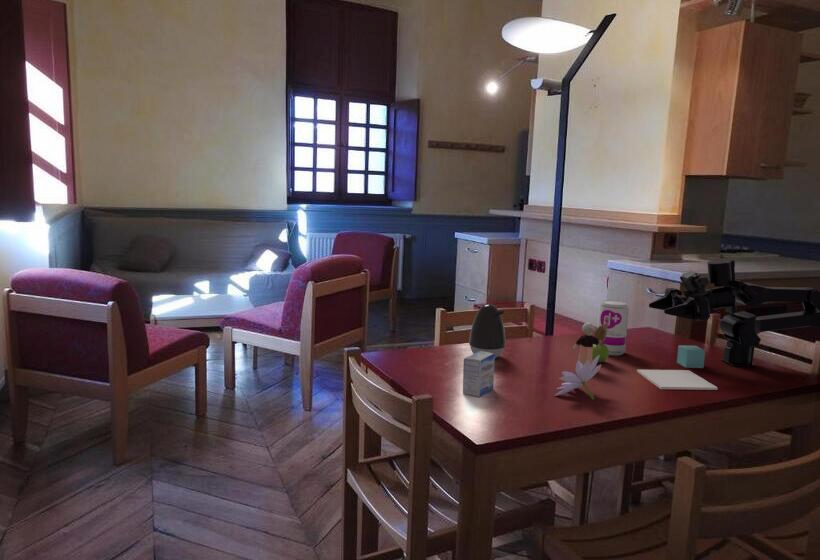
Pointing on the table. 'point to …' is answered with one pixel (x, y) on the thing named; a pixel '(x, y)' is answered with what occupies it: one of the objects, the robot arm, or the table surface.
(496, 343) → the penguin figurine
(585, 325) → the grandmother figurine
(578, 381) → the water lily
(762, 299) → the robot arm
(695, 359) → the cube
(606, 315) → the supplement can
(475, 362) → the medicine box
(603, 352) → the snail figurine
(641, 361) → the table surface
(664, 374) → the tile
